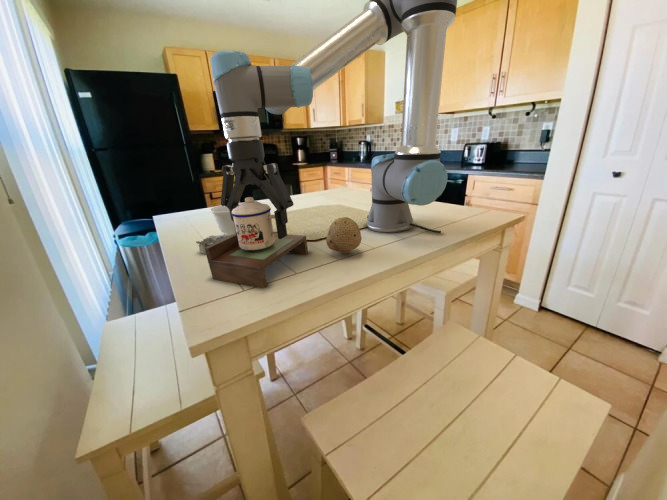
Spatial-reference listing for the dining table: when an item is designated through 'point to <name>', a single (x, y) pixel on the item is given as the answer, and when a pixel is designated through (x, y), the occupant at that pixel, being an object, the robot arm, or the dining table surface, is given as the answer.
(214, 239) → the egg carton
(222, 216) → the teacup
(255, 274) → the shelf
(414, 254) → the dining table surface
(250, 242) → the teacup with lid
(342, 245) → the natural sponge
